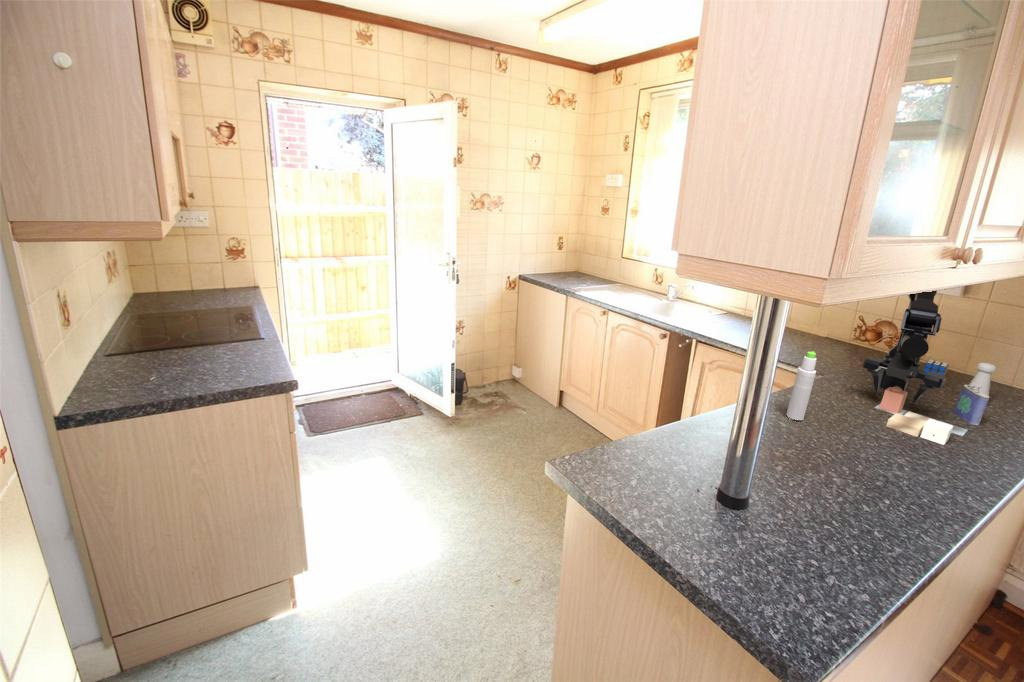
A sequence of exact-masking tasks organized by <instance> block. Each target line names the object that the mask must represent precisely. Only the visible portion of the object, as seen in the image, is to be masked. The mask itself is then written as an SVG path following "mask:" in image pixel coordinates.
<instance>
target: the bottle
mask: <svg viewBox="0 0 1024 682" xmlns="http://www.w3.org/2000/svg"><path fill="white" fill-rule="evenodd" d="M816 355H817V353H816V352H815V351H807V352H806V355H804V356H803V359H802V362H801V366H799V367H798V368H797V372H796V376H795V379H794V383H793V387H792V391H791V393H790V394H791V395H790V400H789V403H788V405H787V406H788V407H787V410H786V414H785V416H786V415H787V416H788V417H790V418H792V419H795V420H803V421H804V418H805V415H806V412H807V411H806V410H807V407H808V404H809V399H810V397H811V392H812V389H813V385H814V381H815V377H816V374H817V370H815V368H816V364H817V357H816Z"/></svg>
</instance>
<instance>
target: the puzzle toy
mask: <svg viewBox="0 0 1024 682" xmlns="http://www.w3.org/2000/svg"><path fill="white" fill-rule="evenodd" d="M949 365H950V364H949V363H948V362H942V361H937V360H933V359H927V360H926V362H925V363H924V367H923V369H922V373H924V374H927V373H928V372H934V373H938V374H942V375H945V376H946V374H947V371H948V369H949Z"/></svg>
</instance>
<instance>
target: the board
mask: <svg viewBox="0 0 1024 682" xmlns="http://www.w3.org/2000/svg"><path fill="white" fill-rule="evenodd" d="M880 405H881V402H880V403H879V404H877V405H876V406H874V407H873V408H874V409H877V410H879V411H880V410H881V411H883V412H887V413H889V414H892V415H894V414H896V413H893V412H890V411H887V410H884V409H881V408H880ZM898 414H901V415H904V416H907V417H910V418H913V419H916V420H919V421H923V422H927V421H928V420H929V419H932V420H936V419H934V418H931V417H928V416H925V415H922V414H919V413H915V412H913V411H909V410H908V411H907V410H906V409H904V408H902V411H900V412H899V413H898ZM938 421H939V422H942V423H945V424H949V425H952V426H953V428H952V431H951V434H954V435H957V436H958V435H959V436H961V437H963V436H964V435H965V434H967V432H968V429H967V428H963V427H960V426H957V425H954V424H950V423H947V422H944V421H942V420H938Z"/></svg>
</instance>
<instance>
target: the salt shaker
mask: <svg viewBox="0 0 1024 682" xmlns="http://www.w3.org/2000/svg"><path fill="white" fill-rule="evenodd" d="M977 370H978V371H977V372H976V373H975V375H974V377H973V378H972V379H971V381H970V382H969V384H968V385H971V386H972V384H973V383H974V385H975V384H978V385H979V386H980V385H981V386H982V388H980V390H979V391H980V392H981V393H983V394H985V395H987V396H989V397H990V389H991V380H992V374H993V373H995V372H996V371H997V366H995V365H994V364H992V363H988V362H980V363H978V364H977ZM974 385H973V387H974Z"/></svg>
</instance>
